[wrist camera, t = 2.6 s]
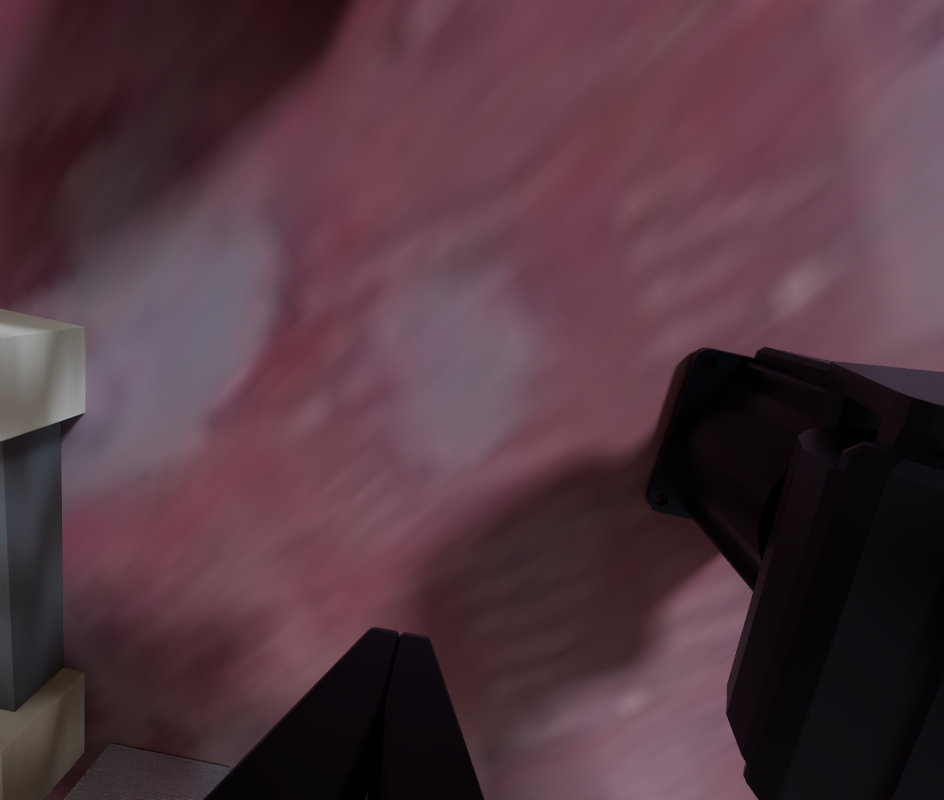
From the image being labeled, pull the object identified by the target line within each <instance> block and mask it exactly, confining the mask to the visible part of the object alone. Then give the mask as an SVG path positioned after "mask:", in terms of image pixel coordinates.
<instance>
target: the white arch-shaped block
mask: <svg viewBox="0 0 944 800" xmlns="http://www.w3.org/2000/svg"><path fill="white" fill-rule="evenodd" d="M229 772H230V767H226V766H221V765H216V764H211V763H206V762H201V761H196V760H191V759H186V758H181V757H176V756H171V755H166V754H162V753H157V752H152V751H147V750H142V749H137V748H132V747H127V746H122V745H117V744H112V743H109V745H108V746H107V747H106V748H105V750H104V751H103V752H102V753H101V754H100V756H99V757H98V758H97V759H96V761H95V762H94V763H93V764H92V765H91V767H90V768H89V769H88V770H87V772H86V773H85V774H84V775H83V777H82V778H81V779H80V780H79V781H78V783H77V784H76V785H75V786H74V788H73V789H72V790H71V791H70V792H69V794H68V795H67V796H66V797H65V799H64V800H203V799H204V798H205V797H206V796H207V795H208V794H209V793H210V792H211V791H212V790H213V788H214V787H215V786H216V785H217V784H218V783H219V782H220V781H221V780H222V779H223V778H224V777H225V776H226V775H227V774H228V773H229Z"/></svg>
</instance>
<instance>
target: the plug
mask: <svg viewBox="0 0 944 800" xmlns="http://www.w3.org/2000/svg"><path fill="white" fill-rule="evenodd" d="M83 413H85V327H83V326H78V325H74V324H69V323H64V322H60V321H55V320H50V319H46V318H41V317H36V316H32V315H27V314H23V313H18V312H13V311H9V310H4V309H0V800H44V799H45V798H46V797H47V795H48V794H49V793H50V792H51V791H52V790H53V788H54V787H55V786H56V785H57V784H58V783H59V781H60V780H61V779H62V778H63V777H64V776H65V774H66V773H67V772H68V771H69V770H70V769H71V767H72V766H73V765H74V764H75V763H76V761H77V760H78V759H79V758H80V757H81V756H82V754H83V753H84V705H85V672H84V671H79V670H74V669H69V668H64V664H63V578H62V492H61V421H62V420H65V419H68V418H71V417H74V416H77V415H80V414H83Z"/></svg>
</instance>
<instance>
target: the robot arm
mask: <svg viewBox="0 0 944 800" xmlns="http://www.w3.org/2000/svg"><path fill="white" fill-rule="evenodd" d="M707 356H710V357H711V364H710V365H709V366H708V367H706V368H703V367H702V361H703V359H704V358H705V357H707ZM660 494H664V495H665V497H664V499H663V500H661V501H655V498H656V497H657V496H658V495H660ZM645 498H646V501H647V503H648V504H649V506H650V507H651V508H652V509H653V510H655V511H657V512H662V513H666V514H671V515H676V516H680V517H685V518H690V519H693V520H694V521H695V522H696V523H697V525H698V526H699V527H700V528H701V529H702V531H703V532H704V533H705V534H706V535H707V537H708V538H709V539H710V540H711V542H712V543H713V544H714V545H715V546H716V548H717V549H718V550H719V551H720V552H721V554H722V555H723V556H724V557H725V559H726V560H727V561H728V562H729V563H730V565H731V566H732V567H733V568H734V569H735V571H736V572H737V573H738V574H739V576H740V577H741V578H742V579H743V580H744V582H745V583H746V584H747V585H748V586H749V588H750V589H751V590H752V591H753V595H752V598H751V602H750V606H749V609H748V613H747V616H746V620H745V623H744V627H743V630H742V634H741V637H740V641H739V644H738V648H737V651H736V655H735V658H734V662H733V665H732V669H731V673H730V676H729V680H728V683H727V706H726V715H727V717H728V720H729V723H730V725H731V728H732V731H733V734H734V736H735V739H736V742H737V744H738V747H739V750H740V752H741V755H742V757H743V758H744V760H745V762H746V763H745V766H744V773H743V775H744V778H745V780H746V783H747V784H748V786H749V787H750V788H751V790H752V791H753V793H754V794H755V795H756V797H757V798H758V800H944V372H935V371H925V370H915V369H905V368H895V367H885V366H875V365H865V364H855V363H845V362H835V361H827V360H823V359H818V358H814V357H809V356H805V355H800V354H796V353H791V352H786V351H782V350H777V349H773V348H768V347H764V348H762V349H760V350H758V351H756V354H755V357H754V358H753V357H749V356H744V355H740V354H735V353H730V352H726V351H721V350H717V349H712V348H701V349H698V350H697V351H696V352H695V353H694V354H693V355H692V357H691V360H690V363H689V365H688V368H687V371H686V374H685V377H684V380H683V383H682V386H681V389H680V392H679V395H678V398H677V401H676V404H675V407H674V410H673V413H672V416H671V419H670V422H669V425H668V428H667V431H666V434H665V437H664V440H663V443H662V446H661V449H660V452H659V455H658V458H657V461H656V464H655V467H654V470H653V473H652V476H651V479H650V482H649V485H648V488H647V491H646V496H645ZM367 794H368V795H367ZM366 799H367V800H485V799H484V796H483V793H482V790H481V787H480V784H479V781H478V778H477V776H476V773H475V770H474V767H473V764H472V761H471V758H470V755H469V752H468V749H467V746H466V743H465V740H464V737H463V734H462V731H461V729H460V726H459V723H458V720H457V717H456V714H455V711H454V708H453V705H452V702H451V699H450V696H449V693H448V690H447V687H446V684H445V682H444V679H443V676H442V673H441V670H440V667H439V664H438V661H437V658H436V655H435V652H434V649H433V646H432V643H431V641H430V639H429V638H428V637H427V636H424V635H418V634H412V633H407V632H404V633H402V634H401V635H400V637H399V633H398V632H397V631H395V630H390V629H384V628H378V627H372V628H370V629H369V630H368V631H367V632H366V633H365V634H364V635H363V636H362V637H361V638H360V639H359V640H358V641H357V642H356V643H355V644H354V645H353V646H352V647H351V648H350V649H349V650H348V651H347V652H346V653H345V654H344V655H343V656H342V657H341V658H340V659H339V660H338V662H337V663H336V664H335V665H334V666H333V667H332V668H331V669H330V670H329V671H328V672H327V673H326V674H325V675H324V676H323V677H322V678H321V679H320V680H319V681H318V682H317V683H316V684H315V685H314V686H313V687H312V688H311V689H310V690H309V691H308V692H307V693H306V694H305V695H304V696H303V697H302V698H301V699H300V700H299V701H298V702H297V703H296V705H295V706H294V707H293V708H292V709H291V710H290V711H289V712H288V713H287V714H286V715H285V716H284V717H283V718H282V719H281V720H280V721H279V722H278V723H277V724H276V725H275V726H274V727H273V728H272V729H271V730H270V731H269V732H268V733H267V734H266V735H265V736H264V737H263V738H262V739H261V740H260V741H259V742H258V743H257V744H256V745H255V746H254V748H253V749H252V750H251V751H250V752H249V753H248V754H247V755H246V756H245V757H244V758H243V759H242V760H241V761H240V762H239V763H238V764H237V765H236V766H235V767H234V768H233V769H232V770H231V771H230V772H229V773H228V774H227V775H226V776H225V777H224V778H223V779H222V780H221V781H220V782H219V783H218V784H217V785H216V786H215V787H214V788H213V790H212V791H211V792H210V793H209V794H208V795H207V796H206V797H205V798H204V799H203V800H366Z"/></svg>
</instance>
